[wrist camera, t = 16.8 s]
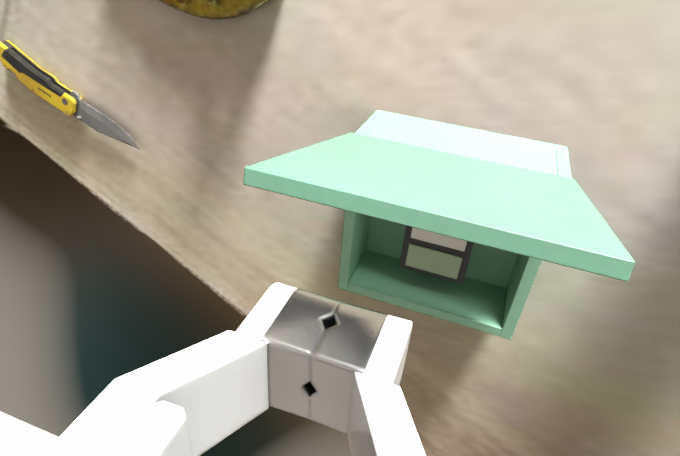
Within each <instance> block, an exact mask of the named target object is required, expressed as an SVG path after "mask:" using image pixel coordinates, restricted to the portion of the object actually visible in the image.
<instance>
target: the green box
mask: <svg viewBox="0 0 680 456" xmlns="http://www.w3.org/2000/svg"><path fill="white" fill-rule="evenodd" d="M355 133H356V134H361V135H366V136H370V137H375V138H380V139H385V140H390V141H394V142H399V143H404V144H409V145H413V146H418V147H423V148H428V149H433V150H437V151H442V152H447V153H452V154H456V155H461V156H466V157H471V158H476V159H480V160H485V161H490V162H495V163H500V164H504V165H509V166H514V167H519V168H523V169H528V170H533V171H538V172H543V173H547V174H552V175H557V176H562V177H566V178H571V179H572V177H571V169H570V161H569V153H568V147H566V146H561V145H556V144H551V143H546V142H541V141H535V140H530V139H525V138H520V137H515V136H510V135H504V134H499V133H494V132H489V131H484V130H479V129H473V128H468V127H463V126H458V125H453V124H448V123H442V122H437V121H432V120H427V119H422V118H417V117H411V116H406V115H401V114H396V113H391V112H386V111H380V110H376V111H375V112H374V113H373V114H372V115H371V116H370V118H369V119H368V120H367V121H366V122H365V123H364V124H363V125H362V126H361V127H360V128H359V129H358V130H357V131H356V132H355ZM405 230H406V225H402V224H398V223H394V222H390V221H386V220H382V219H378V218H374V217H370V216H366V215H363V214H359V213H355V212H351V211H347V210H345V217H344V227H343V238H342V249H341V259H340V270H339V281H338V288H340V289H343V290H347V291H349V292H353V293H356V294H359V295H363V296H366V297H369V298H373V299H376V300H379V301H383V302H386V303H390V304H393V305H396V306H400V307H403V308H406V309H410V310H413V311H416V312H420V313H423V314H426V315H430V316H433V317H436V318H440V319H443V320H446V321H450V322H453V323H456V324H460V325H463V326H467V327H470V328H473V329H477V330H480V331H483V332H487V333H490V334H493V335H497V336H500V337H503V338H506V339H510V340H511V338H512V335H513V333H514V330H515V327H516V325H517V322H518V320H519V317H520V315H521V312H522V310H523V307H524V304H525V302H526V299H527V297H528V294H529V292H530V289H531V286H532V284H533V281H534V279H535V276H536V274H537V271H538V269H539V266H540V263H541V261H542V260H540V259H536V258H532V257H528V256H524V255H520V254H516V253H512V252H508V251H504V250H501V249H497V248H493V247H489V246H485V245H481V244H477V243H474V245H473V249H472V252H471V256H470V259H469V263H468V266H467V270H466V273H465V277H464V280H463V284H459V283H456V282H452V281H449V280H445V279H441V278H438V277H434V276H431V275H427V274H423V273H420V272H416V271H413V270H409V269H405V268H402V267H399V263H400V257H401V252H402V246H403V241H404V235H405Z"/></svg>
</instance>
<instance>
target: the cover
mask: <svg viewBox="0 0 680 456" xmlns="http://www.w3.org/2000/svg"><path fill="white" fill-rule="evenodd" d="M243 184H244V185H248V186H252V187H256V188H260V189H264V190H268V191H272V192H276V193H280V194H284V195H288V196H292V197H295V198H299V199H303V200H307V201H311V202H315V203H319V204H323V205H327V206H331V207H335V208H339V209H343V210H347V211H351V212H355V213H359V214H363V215H366V216H370V217H374V218H378V219H382V220H386V221H390V222H394V223H398V224H402V225H406V226H410V227H414V228H418V229H422V230H426V231H430V232H434V233H437V234H441V235H445V236H449V237H453V238H457V239H461V240H465V241H469V242H473V243H477V244H481V245H485V246H489V247H493V248H497V249H501V250H504V251H508V252H512V253H516V254H520V255H524V256H528V257H532V258H536V259H540V260H544V261H548V262H552V263H556V264H560V265H564V266H568V267H572V268H575V269H579V270H583V271H587V272H591V273H595V274H599V275H603V276H607V277H611V278H615V279H619V280H623V281H628V280H629V277H630V275H631V272H632V270H633V267H634V265H635V261H634V260H633V258H632V257H631V255H630V254H629V253H628V251H627V250H626V249H625V247H624V246H623V245H622V243H621V242H620V241H619V239H618V238H617V236H616V235H615V234H614V232H613V231H612V230H611V228H610V227H609V226H608V224H607V223H606V221H605V220H604V219H603V217H602V216H601V215H600V213H599V212H598V211H597V209H596V208H595V207H594V205H593V204H592V202H591V201H590V200H589V198H588V197H587V196H586V194H585V193H584V192H583V190H582V189H581V188H580V186H579V185H578V183H577V182H576V181H575V179H571V178H566V177H562V176H557V175H552V174H547V173H543V172H538V171H533V170H528V169H523V168H519V167H514V166H509V165H504V164H500V163H495V162H490V161H485V160H480V159H476V158H471V157H466V156H461V155H456V154H452V153H447V152H442V151H437V150H433V149H428V148H423V147H418V146H413V145H409V144H404V143H399V142H394V141H390V140H385V139H380V138H375V137H370V136H366V135H361V134H356V133H348V134H345V135H342V136H339V137H336V138H332V139H329V140H326V141H323V142H320V143H317V144H314V145H311V146H308V147H305V148H302V149H299V150H296V151H293V152H290V153H287V154H284V155H280V156H277V157H274V158H271V159H268V160H265V161H262V162H259V163H256V164H253V165H250V166H247V167H245V169H244V181H243Z"/></svg>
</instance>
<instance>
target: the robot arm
mask: <svg viewBox="0 0 680 456" xmlns="http://www.w3.org/2000/svg"><path fill="white" fill-rule="evenodd" d="M412 326H413V322H412V321H409V320H406V319H402V318H399V317H395V316H391V315H387V314H383V313H380V312H376V311H373V310H369V309H366V308H362V307H359V306H355V305H351V304H348V303H344V302H340V301H337V300H334V299H331V298H328V297H324V296H321V295H318V294H315V293H312V292H309V291H306V290H302V289H299V288H298V289H297V288H294V287H291V286H288V285H285V284H282V283H279V282H276V283H274V284H272V285H271V286H270V287H269V288H268V290H267V291H266V292H265V294H264V295H263V296H262V297H261V299H260V300H259V301H258V303H257V304H256V305H255V307H254V308H253V309H252V311H251V312H250V313H249V314H248V316H247V317H246V318H245V320H244V321H243V323H242V324H241V325H240V326H239V328H238V329H237V330H236V332H233V331H230V330H228V331H225V332H223V333H221V334H218V335H216V336H214V337H211V338H209V339H207V340H205V341H202V342H200V343H197V344H195V345H193V346H191V347H188V348H186V349H184V350H181V351H179V352H176V353H174V354H172V355H169V356H167V357H165V358H162V359H160V360H158V361H155V362H153V363H151V364H148V365H146V366H144V367H141V368H139V369H137V370H134V371H132V372H129V373H127V374H125V375H123V376H120V377H118V378H116V379H114V380H113V381H112V382H111V383H110V384H109V385H108V386H107V387H106V388H105V389H104V390H103V391H102V393H101V394H100V395H99V396H98V397H97V398H96V399H95V400H94V401H93V402H92V403H91V404H90V405H89V406H88V407H87V408H86V409H85V410H84V411H83V413H82V414H81V415H80V416H79V417H78V418H77V419H76V420H75V421H74V422H73V423H72V424H71V425H70V426H69V427H68V428H67V429H66V430H65V431H64V432H63V433H62V434H61V436H59V437H58V436H56V435H54V434H51V433H49V432H47V431H44V430H42V429H40V428H37V427H35V426H33V425H31V424H28V423H26V422H24V421H21V420H19V419H17V418H15V417H12V416H10V415H8V414H5V413H3V412H1V411H0V456H199V455H201V454H202V453H204V452H205V451H207V450H208V449H210V448H211V447H213V446H214V445H216V444H217V443H219V442H220V441H221V440H223V439H224V438H226V437H227V436H229V435H230V434H232V433H233V432H235V431H236V430H238V429H239V428H241V427H242V426H243V425H245V424H246V423H248V422H249V421H251V420H252V419H254V418H255V417H257V416H258V415H260V414H261V413H262V412H264V411H265V410H267V409H268V408H269V406H272V407H275V408H278V409H281V410H284V411H287V412H290V413H293V414H296V415H299V416H302V417H305V418H308V419H310V420H313V421H315V422H318V423H321V424H323V425H325V426H328V427H331V428H333V429H336V430H338V431H341V432H343V433H346V434H348V435H347V437H348V442H349V447H350V453H351V456H426V454H425V451H424V449H423V446H422V443H421V441H420V438H419V435H418V433H417V430H416V427H415V425H414V422H413V419H412V416H411V414H410V411H409V408H408V406H407V403H406V400H405V398H404V395H403V392H402V390H401V387H400V386H399V385H400V381H401V377H402V373H403V369H404V365H405V360H406V355H407V351H408V346H409V341H410V336H411V332H412Z"/></svg>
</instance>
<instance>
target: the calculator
mask: <svg viewBox="0 0 680 456" xmlns="http://www.w3.org/2000/svg"><path fill="white" fill-rule="evenodd" d="M473 245H474V243H473V242H469V241H465V240H461V239H457V238H453V237H449V236H445V235H441V234H437V233H434V232H430V231H426V230H422V229H418V228H414V227H410V226H406V230H405V235H404V241H403V246H402V252H401V257H400V263H399V267H402V268H405V269H409V270H413V271H416V272H420V273H423V274H427V275H431V276H434V277H438V278H441V279H445V280H449V281H452V282H456V283H459V284H463V280H464V277H465V273H466V270H467V266H468V263H469V259H470V256H471V252H472V249H473Z"/></svg>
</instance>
